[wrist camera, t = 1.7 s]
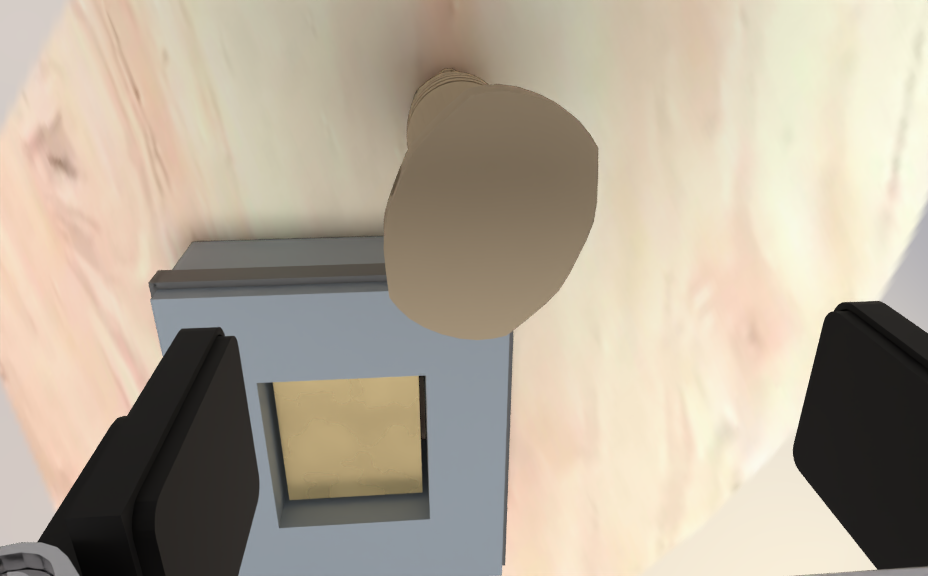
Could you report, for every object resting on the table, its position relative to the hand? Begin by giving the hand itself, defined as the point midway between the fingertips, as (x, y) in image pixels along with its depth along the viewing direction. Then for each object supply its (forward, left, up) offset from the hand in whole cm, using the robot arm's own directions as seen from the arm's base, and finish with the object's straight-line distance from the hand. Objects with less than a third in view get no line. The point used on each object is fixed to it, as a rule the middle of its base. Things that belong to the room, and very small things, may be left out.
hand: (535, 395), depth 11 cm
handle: (0, 0, -22) cm, 22 cm away
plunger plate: (+14, -5, -18) cm, 23 cm away
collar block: (+14, -5, -22) cm, 26 cm away
